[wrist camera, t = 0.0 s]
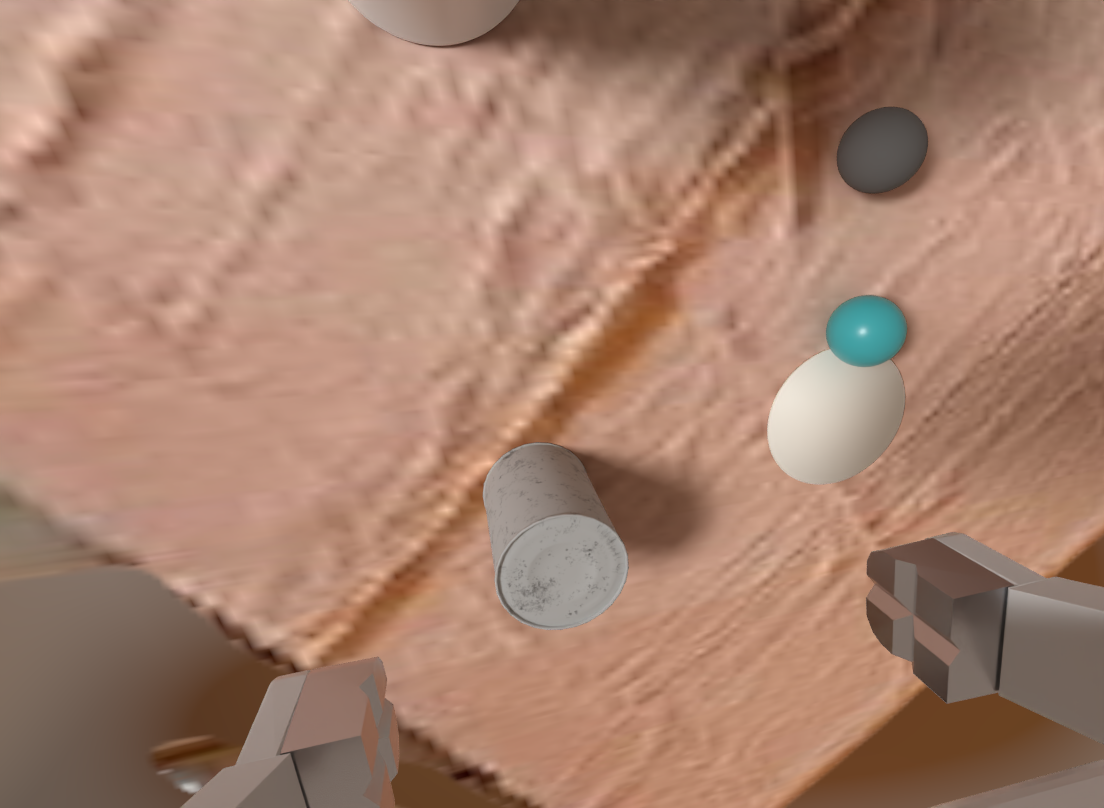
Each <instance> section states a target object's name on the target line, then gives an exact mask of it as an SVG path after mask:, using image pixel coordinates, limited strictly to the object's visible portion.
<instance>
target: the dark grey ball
mask: <svg viewBox="0 0 1104 808" xmlns="http://www.w3.org/2000/svg"><path fill="white" fill-rule="evenodd" d="M927 147H928V136H927V131H926V128H925V126H924V124H923V123H922V121H921V120H920V119H919V118H918V117H917V116H916V115H915V114H914V113H912V112H910V111H909V110H906V109H903V108H898V107H883V108H879V109H875V110H872V111H870V112H868V113H866V114H864V115H863V116H861V117H860V118H858V119H857V120H856V121H855V122H854V123H852V125H851V126H850V127H849V128H848V129H847V131H846V132H845V133H844V135H843V137H842V139H841V141H840V144H839V147H838V151H837V166H838V170H839V173H840V175H841V177H842V178H843V179H844V181H845V182H846V183H847V184H848V185H849V186H851V187H852V188H854V189H856V190H858V191H861V192H864V193H883V192H887V191H890V190H893V189H895V188H897V187H899V186H901V185H903V184H904V183H905V182H907V181H908V180H909V179H910V178H911V177H912V176H913V175H914V174H915V173H916V172H917V171H918V169H919V168H920V166H921V165H922V163H923V161H924V159H925V156H926V152H927Z"/></svg>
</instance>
